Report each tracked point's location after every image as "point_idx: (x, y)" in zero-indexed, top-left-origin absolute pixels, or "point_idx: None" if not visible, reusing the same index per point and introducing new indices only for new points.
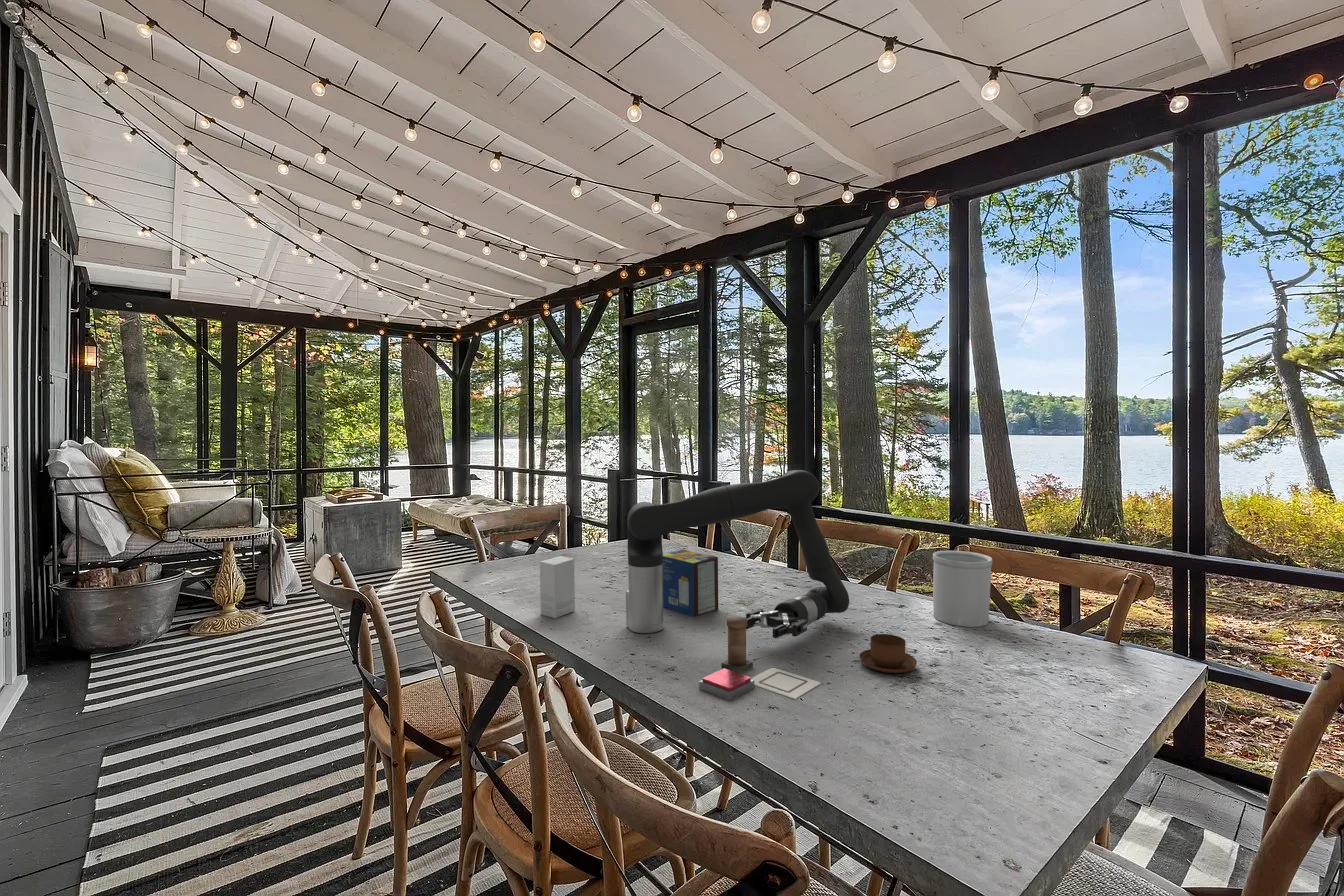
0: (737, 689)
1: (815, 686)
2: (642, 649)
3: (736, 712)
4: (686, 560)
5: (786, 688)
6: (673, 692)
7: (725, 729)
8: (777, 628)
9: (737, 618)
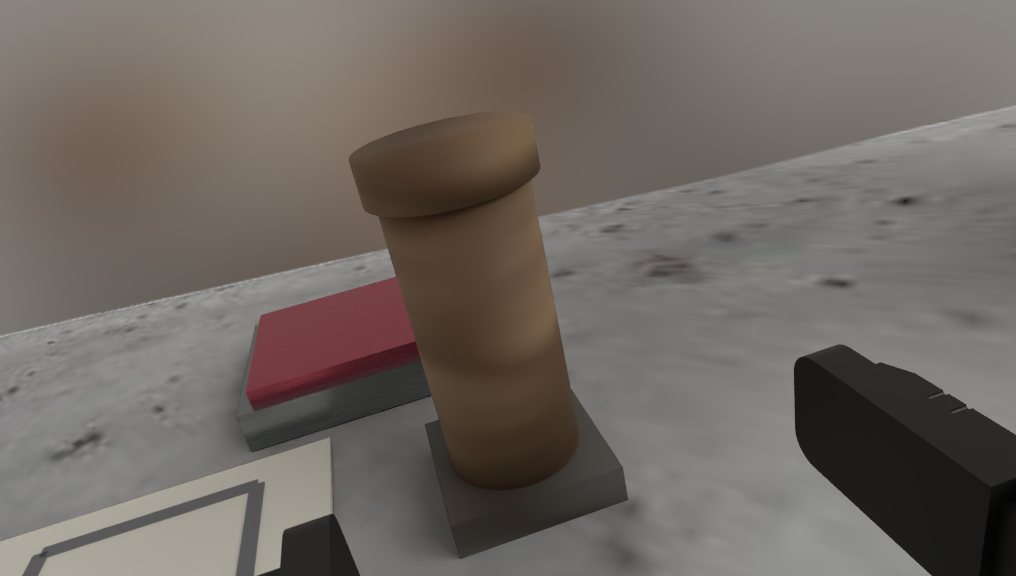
0: (252, 349)
1: None
2: (978, 219)
3: (197, 350)
4: None
5: (69, 570)
6: None
7: (173, 313)
8: (282, 565)
9: (459, 138)
